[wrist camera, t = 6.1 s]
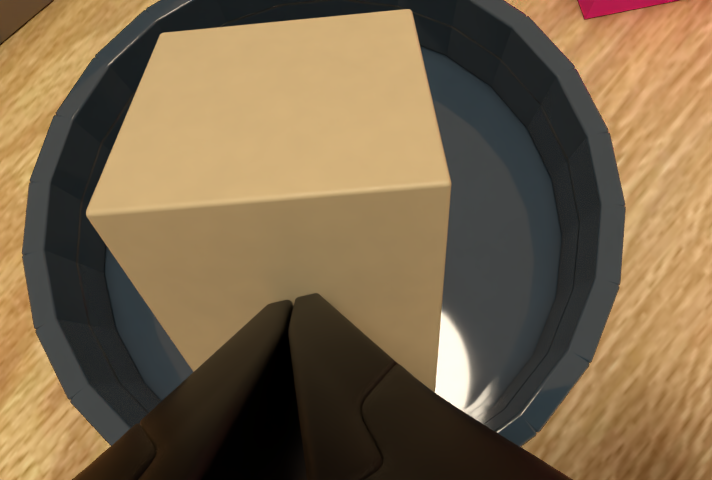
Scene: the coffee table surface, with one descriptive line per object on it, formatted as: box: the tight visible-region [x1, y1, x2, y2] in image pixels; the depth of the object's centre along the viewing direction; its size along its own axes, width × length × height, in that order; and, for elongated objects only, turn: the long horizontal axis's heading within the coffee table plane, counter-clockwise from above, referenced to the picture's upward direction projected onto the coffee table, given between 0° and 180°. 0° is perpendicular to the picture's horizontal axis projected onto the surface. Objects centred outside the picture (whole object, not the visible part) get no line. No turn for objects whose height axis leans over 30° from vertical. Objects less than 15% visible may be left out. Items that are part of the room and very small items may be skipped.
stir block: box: [86, 9, 451, 393], centre depth 11 cm, size 5×5×8 cm
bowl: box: [22, 0, 625, 447], centre depth 15 cm, size 15×15×4 cm
